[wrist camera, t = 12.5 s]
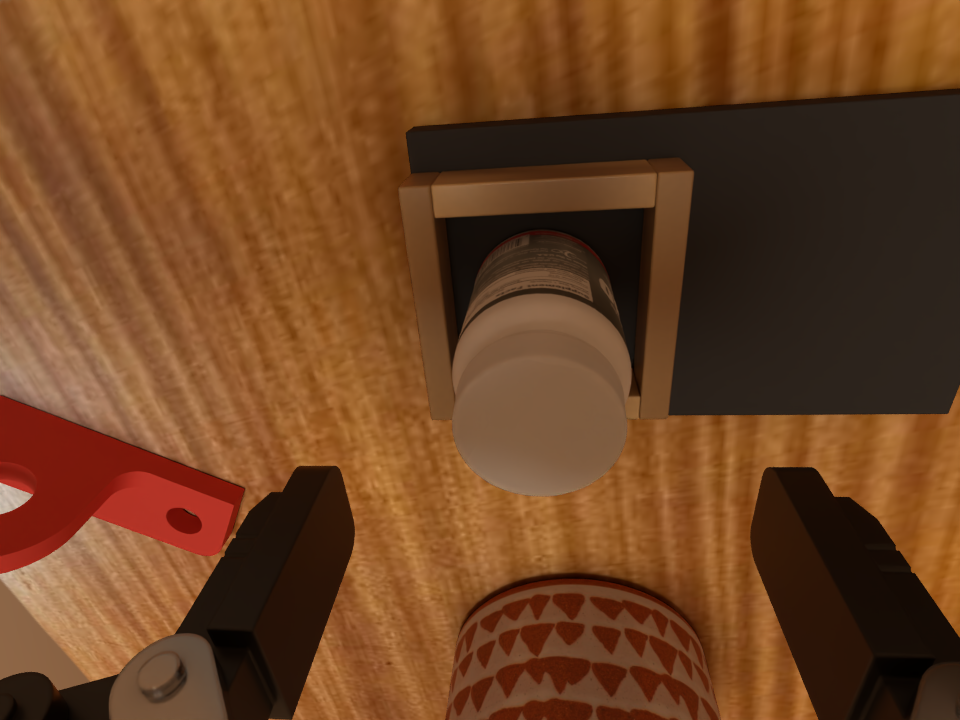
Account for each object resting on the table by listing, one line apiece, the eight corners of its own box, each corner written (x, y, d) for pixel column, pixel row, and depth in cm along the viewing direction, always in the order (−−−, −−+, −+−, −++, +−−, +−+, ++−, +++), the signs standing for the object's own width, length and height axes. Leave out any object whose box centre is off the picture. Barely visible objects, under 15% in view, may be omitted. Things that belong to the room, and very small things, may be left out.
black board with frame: (447, 400, 24) (435, 447, 22) (412, 126, 19) (390, 142, 16) (929, 396, 22) (984, 448, 19) (1047, 82, 17) (1148, 92, 14)
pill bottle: (601, 353, 21) (631, 519, 14) (474, 346, 21) (440, 505, 14) (617, 228, 19) (664, 350, 11) (475, 222, 19) (434, 338, 12)
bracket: (1, 461, 29) (-168, 593, 22) (-1, 395, 27) (-188, 519, 20) (227, 544, 30) (135, 692, 24) (244, 489, 28) (148, 634, 21)
